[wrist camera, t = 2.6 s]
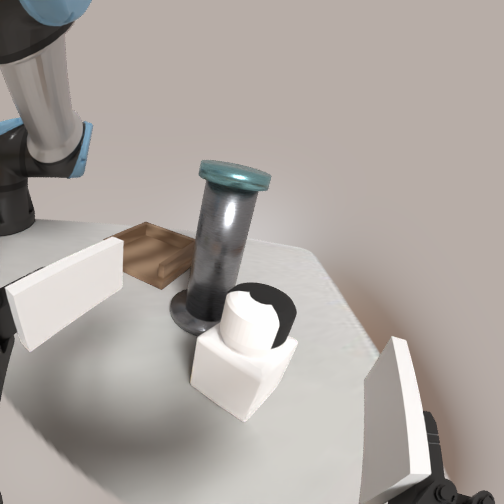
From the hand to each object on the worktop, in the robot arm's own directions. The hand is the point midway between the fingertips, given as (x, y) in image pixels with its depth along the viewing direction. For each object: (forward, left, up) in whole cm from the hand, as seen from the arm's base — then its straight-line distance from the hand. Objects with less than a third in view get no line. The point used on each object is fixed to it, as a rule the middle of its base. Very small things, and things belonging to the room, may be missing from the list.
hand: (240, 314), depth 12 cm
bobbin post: (-8, +20, -17) cm, 27 cm away
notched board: (-23, +28, -17) cm, 40 cm away
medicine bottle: (0, +10, -17) cm, 20 cm away
